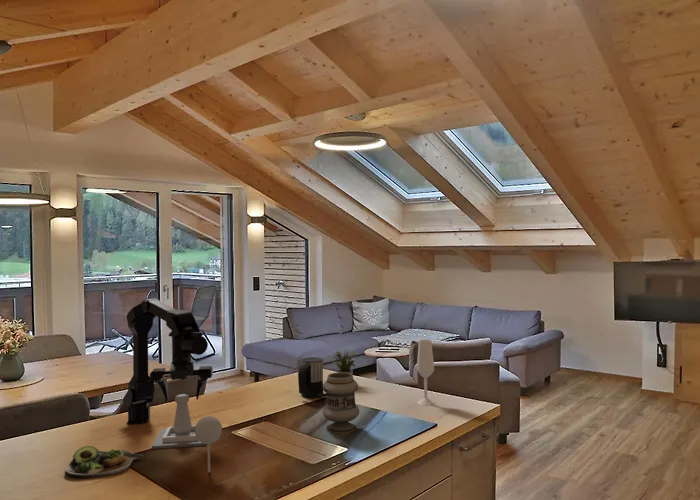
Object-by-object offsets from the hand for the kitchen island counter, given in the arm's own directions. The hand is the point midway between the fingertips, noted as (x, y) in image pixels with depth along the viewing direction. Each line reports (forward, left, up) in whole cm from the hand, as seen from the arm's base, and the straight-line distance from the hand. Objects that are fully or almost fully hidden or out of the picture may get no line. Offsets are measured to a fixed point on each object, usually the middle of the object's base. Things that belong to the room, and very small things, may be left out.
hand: (182, 400), depth 179 cm
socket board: (0, 0, -12) cm, 12 cm away
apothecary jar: (+51, 0, -12) cm, 52 cm away
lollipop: (+11, -29, -12) cm, 33 cm away
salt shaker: (0, 0, -12) cm, 12 cm away
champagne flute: (+87, +24, -12) cm, 91 cm away
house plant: (+59, +57, -12) cm, 83 cm away
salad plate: (-20, -19, -13) cm, 30 cm away
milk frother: (+47, +40, -12) cm, 63 cm away
